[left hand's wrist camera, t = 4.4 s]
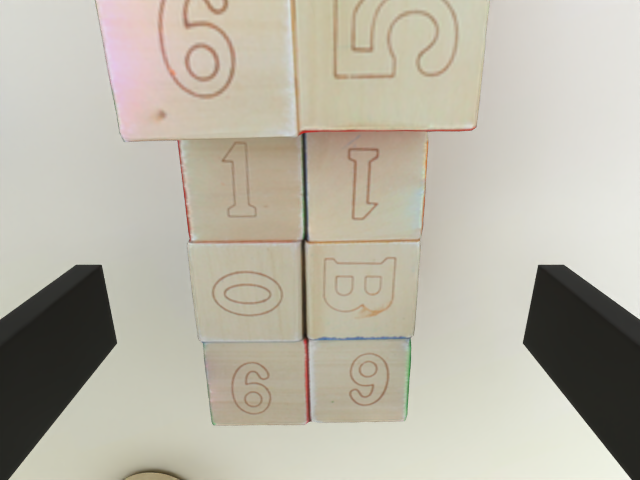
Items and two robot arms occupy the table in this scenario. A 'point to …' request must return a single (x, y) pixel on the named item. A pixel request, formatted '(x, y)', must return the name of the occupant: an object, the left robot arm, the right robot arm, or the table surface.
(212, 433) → the table surface
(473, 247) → the table surface
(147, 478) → the candle
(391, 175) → the stack of blocks
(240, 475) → the table surface
